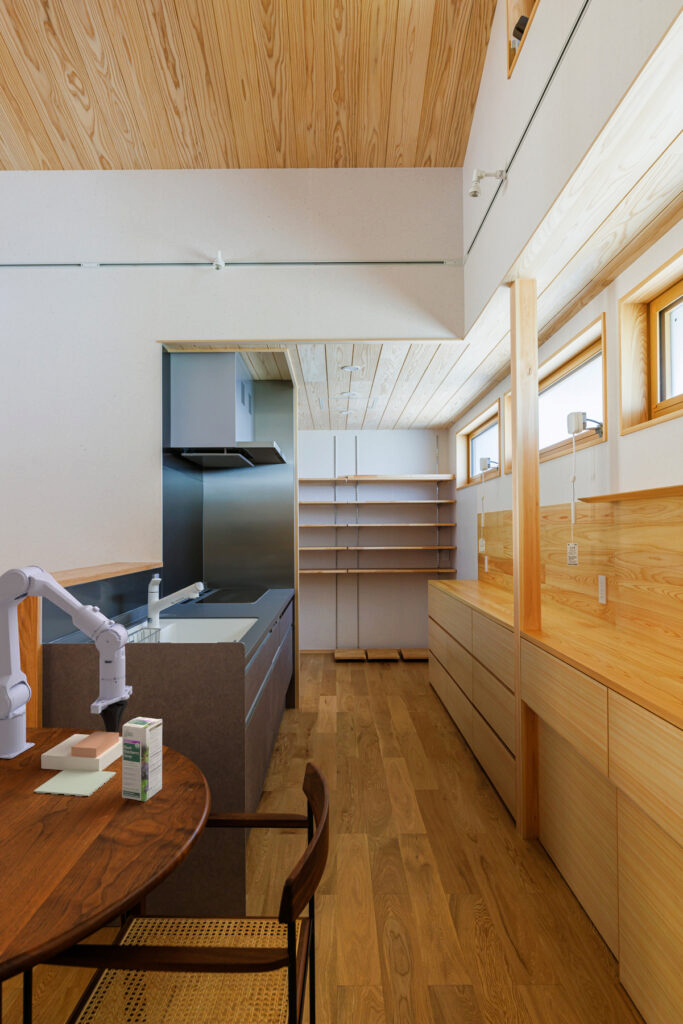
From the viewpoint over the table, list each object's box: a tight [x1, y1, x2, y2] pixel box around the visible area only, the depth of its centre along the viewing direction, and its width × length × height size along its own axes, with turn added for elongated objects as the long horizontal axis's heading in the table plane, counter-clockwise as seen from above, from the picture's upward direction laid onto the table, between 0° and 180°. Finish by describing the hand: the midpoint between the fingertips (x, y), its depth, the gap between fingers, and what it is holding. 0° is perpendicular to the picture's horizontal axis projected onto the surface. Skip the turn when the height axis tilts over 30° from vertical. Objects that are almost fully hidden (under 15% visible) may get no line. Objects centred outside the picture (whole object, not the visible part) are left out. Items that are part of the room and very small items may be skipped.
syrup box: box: [121, 716, 163, 803], centre depth 113 cm, size 6×6×14 cm
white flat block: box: [40, 733, 122, 771], centre depth 129 cm, size 14×12×3 cm
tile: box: [71, 731, 120, 758], centre depth 127 cm, size 6×9×2 cm, turn 171°
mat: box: [33, 769, 117, 797], centre depth 117 cm, size 12×10×1 cm
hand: (112, 733), depth 134 cm, fingers closed
